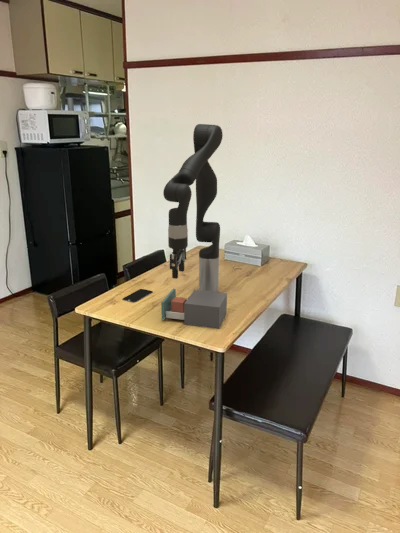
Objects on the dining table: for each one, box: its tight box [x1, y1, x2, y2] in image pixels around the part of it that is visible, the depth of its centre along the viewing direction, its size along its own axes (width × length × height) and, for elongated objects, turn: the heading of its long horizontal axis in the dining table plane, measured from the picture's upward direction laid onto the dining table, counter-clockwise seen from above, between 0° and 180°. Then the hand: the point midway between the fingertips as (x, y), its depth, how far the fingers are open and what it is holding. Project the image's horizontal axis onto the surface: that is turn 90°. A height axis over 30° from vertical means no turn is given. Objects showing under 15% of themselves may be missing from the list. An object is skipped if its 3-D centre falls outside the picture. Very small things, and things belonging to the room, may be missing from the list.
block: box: [171, 296, 188, 313], centre depth 177 cm, size 5×5×5 cm
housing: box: [183, 289, 228, 329], centre depth 174 cm, size 15×14×9 cm
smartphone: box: [121, 288, 154, 304], centre depth 198 cm, size 8×1×15 cm
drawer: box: [160, 288, 184, 321], centre depth 176 cm, size 15×14×7 cm
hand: (178, 274), depth 173 cm, fingers open, 8 cm apart
